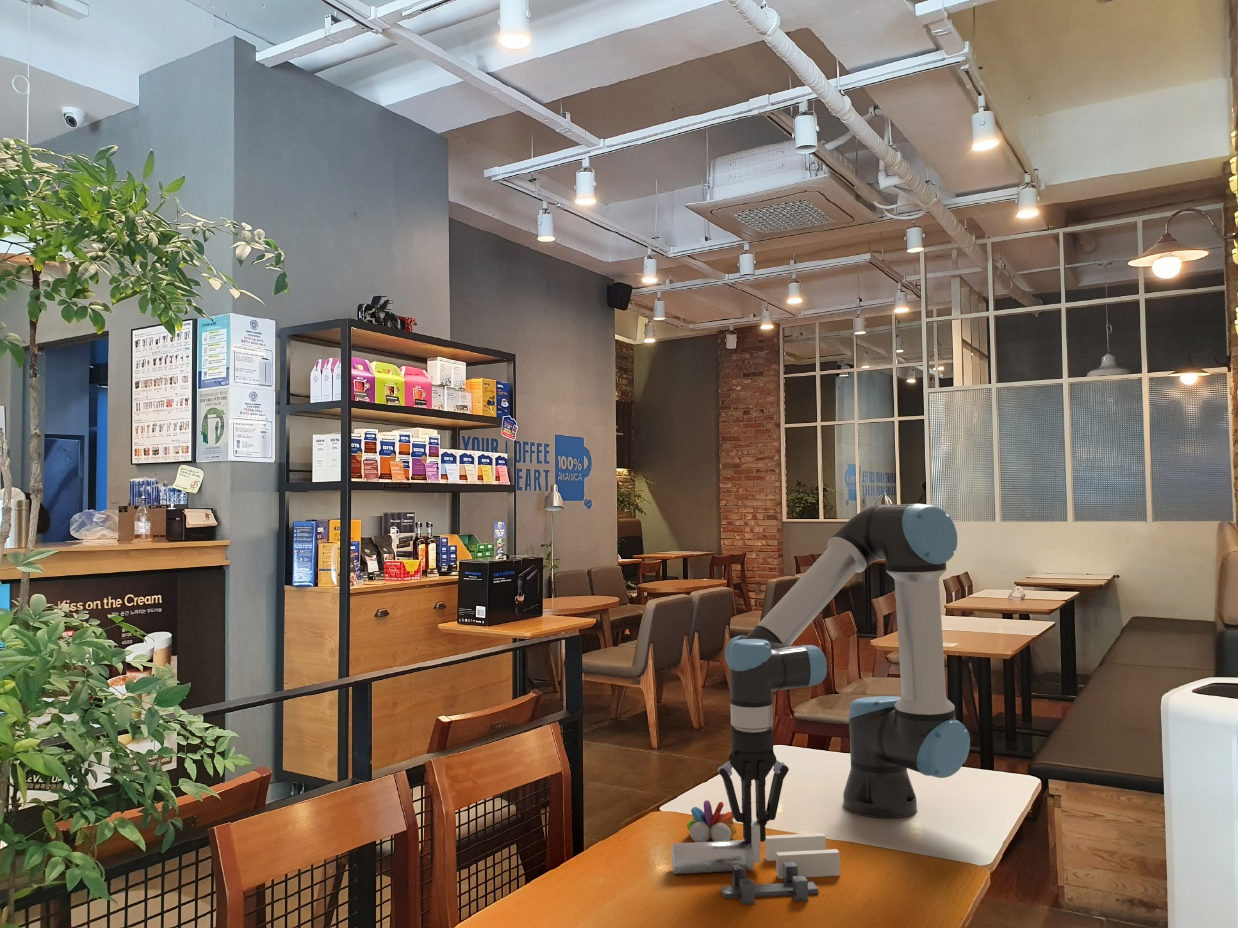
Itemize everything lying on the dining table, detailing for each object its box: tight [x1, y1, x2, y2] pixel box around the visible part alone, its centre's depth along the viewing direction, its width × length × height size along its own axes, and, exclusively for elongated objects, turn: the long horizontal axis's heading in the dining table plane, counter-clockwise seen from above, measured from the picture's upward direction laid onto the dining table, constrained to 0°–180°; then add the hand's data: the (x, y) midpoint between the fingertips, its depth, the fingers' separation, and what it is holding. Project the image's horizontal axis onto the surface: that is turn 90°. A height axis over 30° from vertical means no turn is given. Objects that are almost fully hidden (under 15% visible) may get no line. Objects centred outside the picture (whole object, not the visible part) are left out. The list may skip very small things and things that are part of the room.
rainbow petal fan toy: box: [686, 799, 737, 843], centre depth 180 cm, size 8×10×7 cm
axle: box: [670, 839, 755, 875], centre depth 164 cm, size 14×5×5 cm, turn 95°
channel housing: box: [764, 832, 841, 880], centre depth 165 cm, size 11×10×4 cm
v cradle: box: [720, 862, 819, 906], centre depth 154 cm, size 16×8×3 cm, turn 95°
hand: (754, 859), depth 164 cm, fingers closed
